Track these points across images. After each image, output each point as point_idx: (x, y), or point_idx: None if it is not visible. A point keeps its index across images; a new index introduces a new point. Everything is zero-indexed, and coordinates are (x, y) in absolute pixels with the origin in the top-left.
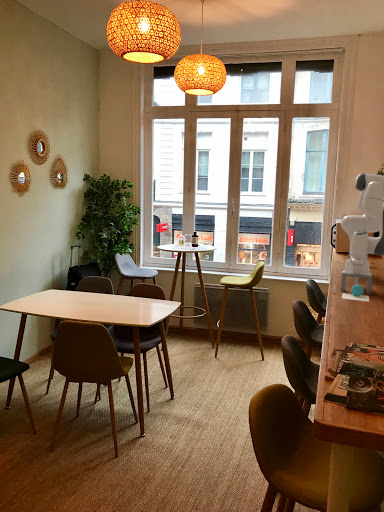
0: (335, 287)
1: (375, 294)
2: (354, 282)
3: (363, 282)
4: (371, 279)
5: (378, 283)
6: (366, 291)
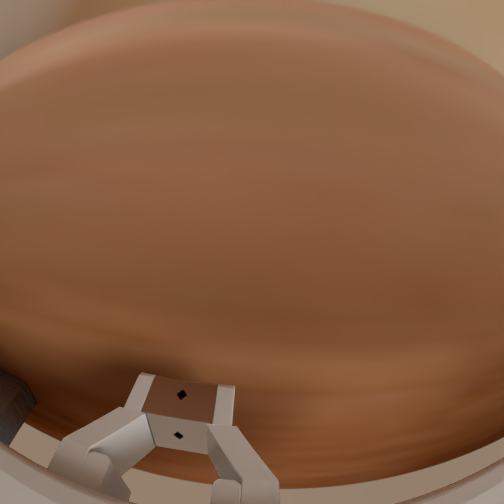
0: (64, 60)
1: (32, 417)
2: (132, 389)
3: (499, 391)
4: None
5: (457, 455)
6: (4, 384)
